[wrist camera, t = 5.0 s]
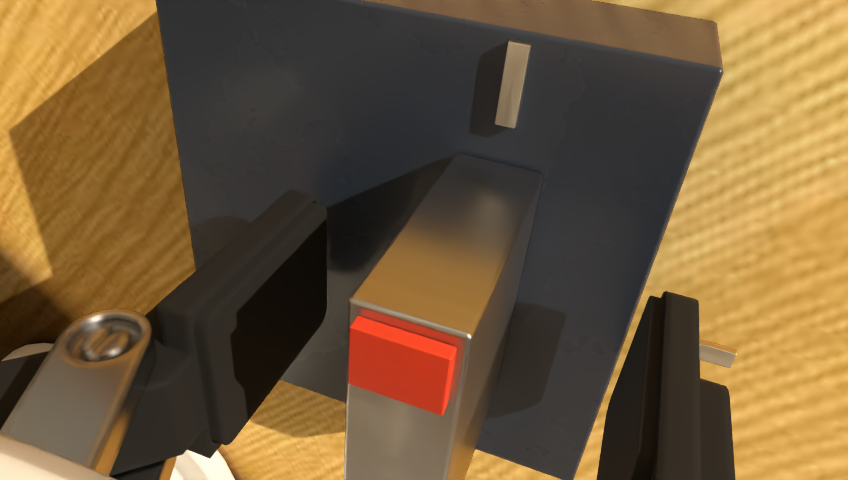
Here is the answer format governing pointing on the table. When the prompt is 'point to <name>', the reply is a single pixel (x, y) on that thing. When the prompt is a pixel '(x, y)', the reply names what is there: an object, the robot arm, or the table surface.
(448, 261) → the tap knob
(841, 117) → the table surface
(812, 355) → the table surface
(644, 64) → the panel
